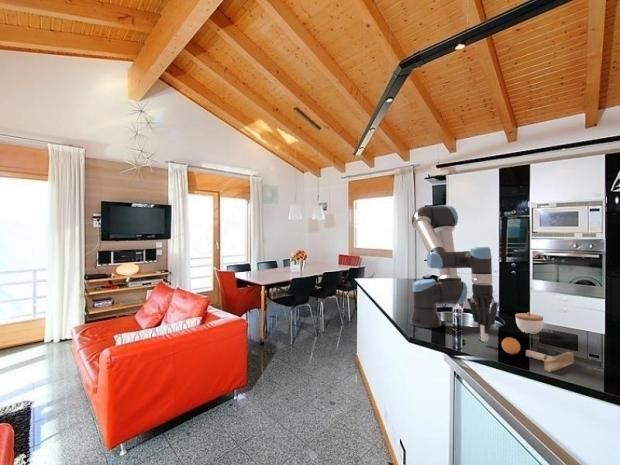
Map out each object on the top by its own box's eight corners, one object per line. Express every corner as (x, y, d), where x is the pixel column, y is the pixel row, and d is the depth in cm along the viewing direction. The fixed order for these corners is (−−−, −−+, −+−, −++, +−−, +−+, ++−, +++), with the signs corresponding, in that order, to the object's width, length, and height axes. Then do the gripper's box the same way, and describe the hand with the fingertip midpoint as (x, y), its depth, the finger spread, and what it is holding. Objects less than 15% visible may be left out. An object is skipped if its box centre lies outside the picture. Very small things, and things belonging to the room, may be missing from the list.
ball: (510, 347, 111) (496, 347, 116) (522, 357, 111) (507, 357, 117) (514, 333, 114) (500, 334, 119) (525, 344, 114) (510, 344, 120)
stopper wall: (544, 371, 99) (543, 360, 99) (568, 361, 107) (567, 351, 107) (549, 372, 98) (549, 361, 98) (573, 363, 105) (573, 352, 105)
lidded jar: (545, 336, 135) (544, 315, 135) (516, 333, 141) (515, 313, 141) (542, 330, 144) (541, 311, 144) (515, 328, 150) (514, 309, 150)
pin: (526, 348, 112) (552, 356, 104) (529, 350, 113) (556, 357, 105) (525, 355, 112) (551, 363, 104) (528, 357, 113) (555, 364, 105)
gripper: (462, 282, 131) (464, 337, 130) (492, 286, 119) (494, 346, 118) (473, 281, 134) (475, 335, 133) (503, 284, 122) (506, 343, 121)
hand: (484, 340), depth 125 cm, fingers closed
